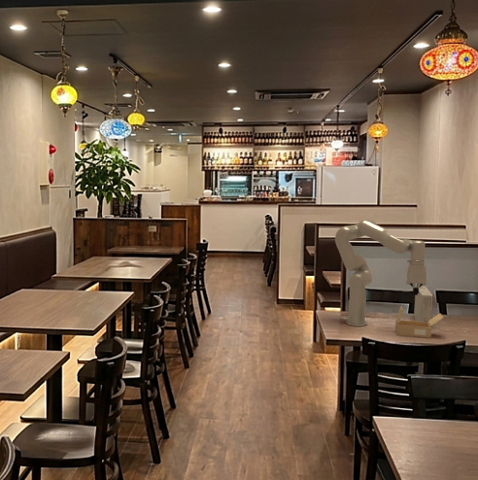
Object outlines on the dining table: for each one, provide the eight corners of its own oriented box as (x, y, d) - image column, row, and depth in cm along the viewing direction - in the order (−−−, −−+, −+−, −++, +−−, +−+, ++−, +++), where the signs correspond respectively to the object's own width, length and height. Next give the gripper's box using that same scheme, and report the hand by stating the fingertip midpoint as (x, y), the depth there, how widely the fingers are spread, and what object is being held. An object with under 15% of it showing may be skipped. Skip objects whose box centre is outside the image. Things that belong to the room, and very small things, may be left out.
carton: (397, 335, 298) (397, 325, 298) (395, 330, 310) (395, 319, 309) (430, 338, 295) (431, 327, 294) (427, 332, 307) (428, 322, 306)
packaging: (430, 329, 315) (432, 295, 313) (420, 328, 316) (422, 295, 314) (423, 317, 344) (425, 286, 342) (413, 316, 345) (415, 285, 343)
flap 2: (431, 325, 295) (443, 317, 293) (428, 320, 305) (440, 313, 303) (431, 326, 295) (443, 318, 293) (428, 321, 305) (440, 313, 303)
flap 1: (398, 323, 298) (402, 309, 297) (396, 318, 309) (400, 305, 307) (398, 323, 298) (403, 310, 297) (397, 319, 309) (401, 306, 307)
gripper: (403, 263, 296) (402, 295, 298) (432, 264, 293) (430, 297, 295) (402, 261, 303) (401, 293, 305) (430, 262, 300) (428, 294, 302)
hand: (415, 294), depth 300 cm, fingers closed
